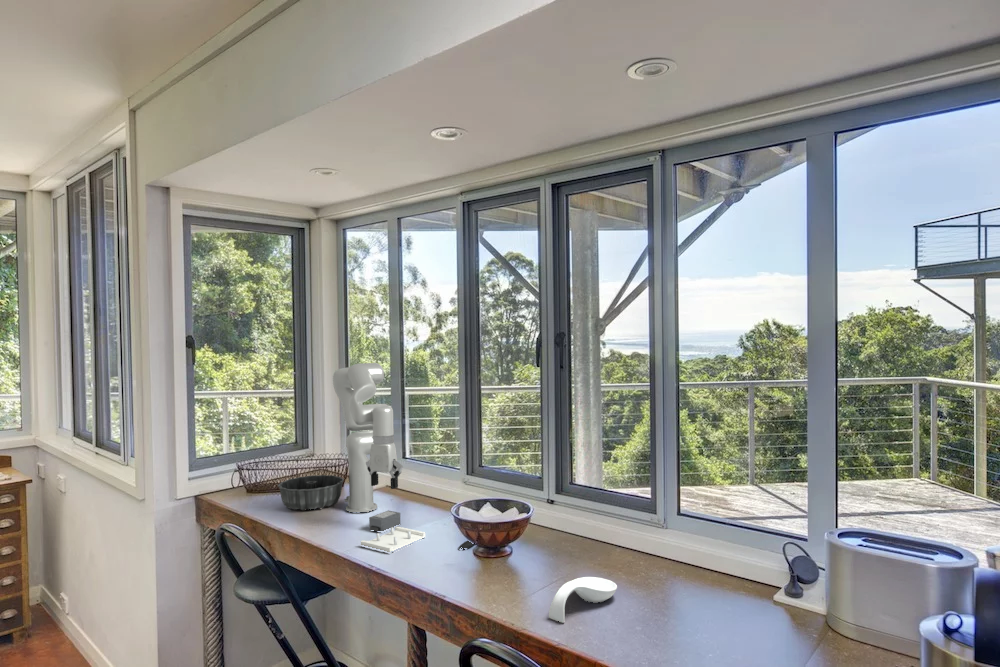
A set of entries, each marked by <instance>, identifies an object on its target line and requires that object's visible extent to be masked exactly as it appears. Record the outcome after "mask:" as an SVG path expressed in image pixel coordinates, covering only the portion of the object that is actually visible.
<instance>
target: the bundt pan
mask: <svg viewBox="0 0 1000 667" xmlns="http://www.w3.org/2000/svg"><path fill="white" fill-rule="evenodd" d="M344 480H345V478H343V477H341V476H337V475H334V474H333V475H330V474H329V475H326V474H319V475H306V476H297V477H294V478H293V477H292V478H290V479H289V478H288V479H286V480H284V481H281V482H280V483H278V484H277V487H278V488H279V492H280V498H281V501H282V503H283V505H284V507H286V508H288V509H289V508H292V509H291V510H295V509H300V510H301V511H303V510H305V509H306V510H309V509H310V510H309V511H312V510H311V509H314V510H316V509H319V508H322V509H323V508H325V507H324V506H328V507H330V506H332V504H333V505H335V504H336V503H338V501H339V499H340V497H341V495H342V490H343V482H344ZM306 510H305V511H306Z"/></svg>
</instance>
